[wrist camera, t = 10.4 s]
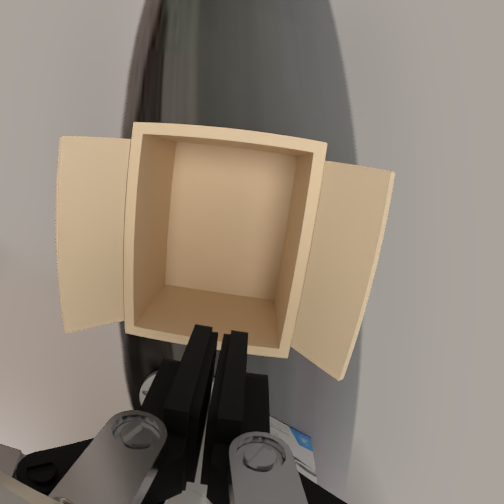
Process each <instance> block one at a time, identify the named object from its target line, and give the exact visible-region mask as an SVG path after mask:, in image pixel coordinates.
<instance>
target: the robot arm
mask: <svg viewBox="0 0 504 504" xmlns="http://www.w3.org/2000/svg"><path fill="white" fill-rule="evenodd" d="M212 329H213V327H210V326H204V325H198V324H195V326H194V329H193V331H192V334H191V336H190V339H189V341H188V344H187V347H186V349H185V352H184V354H183V357H182V360H181V362H180V361H175V360H170V359H163V361H162V362H161V365H160V367H159V369H158V370H157V371H155V372H153V373H152V374H150V375H149V376H148V377H147V378H146V379H145V381H144V382H143V384H142V387H141V389H140V393H139V399H140V404H141V408H140V410H129V411H124V412H121V413H118V414H116V415H114V416H113V417H112V418H111V419H110V420H109V421H108V422H107V423H106V425H105V426H104V427H103V428H102V430H101V431H100V432H99V433H98V435H97V436H96V437H95V438H92V439H89V440H85V441H82V442H77V443H73V444H69V445H65V446H61V447H57V448H52V449H47V450H43V451H38V452H34V453H31V454H28V455H24V454H22V452H21V450H18V449H15V448H11V447H9V446H6V445H2V444H0V504H210V502H211V503H213V504H347V503H345V502H344V501H342V500H340V499H339V498H337V497H336V496H334V495H333V494H331V493H329V492H328V491H326V490H325V489H323V488H322V487H320V486H319V485H317V484H316V483H314V482H313V481H311V480H310V479H309V478H307V477H306V476H304V475H303V474H301V473H300V472H299V471H298V470H297V467H296V463H295V460H294V457H293V454H292V451H291V449H290V447H289V445H288V444H287V443H285V442H284V441H283V440H282V439H280V438H279V437H277V436H275V435H272V434H270V415H269V388H268V376H267V375H261V374H253V373H246V363H247V347H248V332H241V331H234V330H231V334H225V333H224V335H223V340H222V345H221V350H220V355H219V360H218V365H217V370H216V375H215V378H214V377H213V374H214V365H215V357H216V349H217V341H218V332H212Z"/></svg>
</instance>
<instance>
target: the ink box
mask: <svg viewBox="0 0 504 504" xmlns="http://www.w3.org/2000/svg"><path fill="white" fill-rule="evenodd" d="M270 434H272V435H275V436H277V437H279V438H280V439H282V440H283V441H284V442H285V443H287V444H288V445H289V447H290V449H291V451H292V454H293V457H294V460H295V463H296V467H297V470H298V471H299V472H300V473H301V474H303V475H304V476H306V477H307V478H309V479H310V480H311V481H313V482H314V483H316V484H317V478H316V471H315V464H314V457H313V450H312V443H311V438H310V437H308V436H306V435H304V434H302V433H300V432H298V431H296V430H294V429H293V428H291V427H289V426H287V425H285V424H283V423H282V422H280V421H278V420H276V419H274V418H273V417H271V416H270Z"/></svg>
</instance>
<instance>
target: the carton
mask: <svg viewBox="0 0 504 504" xmlns="http://www.w3.org/2000/svg"><path fill="white" fill-rule="evenodd" d="M326 149H327V143H325V142H320V141H314V140H309V139H303V138H297V137H291V136H284V135H278V134H271V133H264V132H256V131H248V130H240V129H231V128H221V127H211V126H199V125H185V124H168V123H144V122H134V124H133V131H132V139H131V148H130V157H129V167H128V178H127V191H126V206H125V226H124V316H125V333H128V334H132V335H137V336H142V337H147V338H152V339H157V340H162V341H167V342H173V343H179V344H184V345H187V344H188V341H189V339H190V336H191V334H192V331H193V329H194V326H195V324H198V325H204V326H210V327H213V329H212V332H218V341H217V349H216V350H221V345H222V340H223V335H224V333H225V334H231V330H234V331H241V332H248V347H247V354H252V355H261V356H270V357H279V358H288V354H289V350H290V346H291V341H292V337H293V332H294V328H295V323H296V318H297V314H298V309H299V304H300V299H301V294H302V289H303V284H304V279H305V274H306V269H307V264H308V259H309V253H310V248H311V242H312V237H313V231H314V226H315V220H316V214H317V208H318V202H319V196H320V189H321V183H322V177H323V170H324V163H325V156H326Z"/></svg>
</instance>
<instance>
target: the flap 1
mask: <svg viewBox="0 0 504 504" xmlns="http://www.w3.org/2000/svg"><path fill="white" fill-rule="evenodd" d="M130 142H131V139H121V138H104V137H82V136H81V137H80V136H60V143H59V153H58V166H57V183H56V253H57V271H58V282H59V293H60V303H61V311H62V319H63V326H64V331H65V333H71V332H75V331H80V330H85V329H89V328H94V327H98V326H103V325H107V324H112V323H116V322H120V321H124V304H123V237H124V213H125V196H126V183H127V171H128V161H129V151H130Z"/></svg>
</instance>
